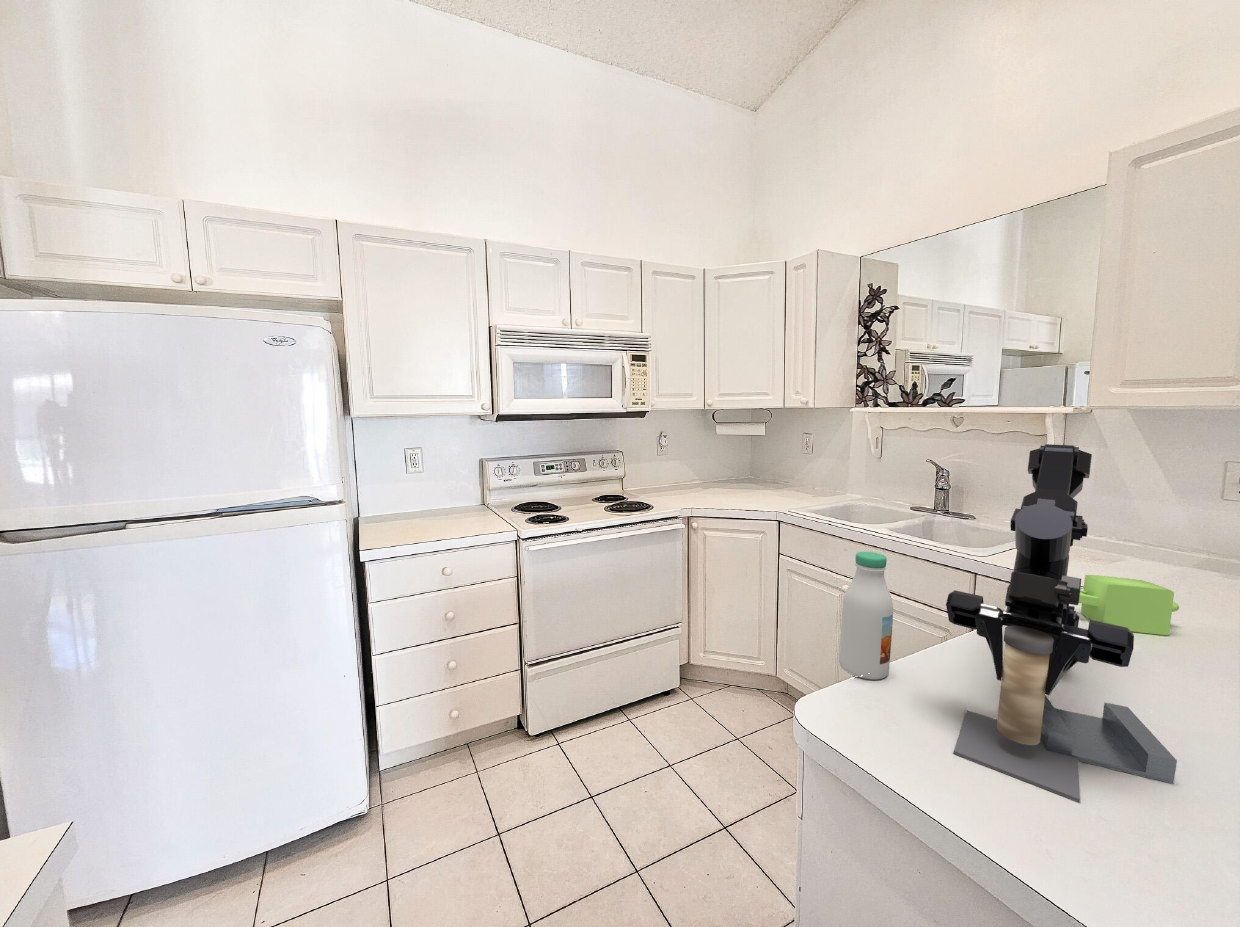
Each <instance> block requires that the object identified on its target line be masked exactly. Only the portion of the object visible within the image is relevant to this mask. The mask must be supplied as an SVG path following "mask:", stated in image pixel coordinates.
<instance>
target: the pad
mask: <svg viewBox="0 0 1240 927" xmlns="http://www.w3.org/2000/svg"><path fill="white" fill-rule="evenodd" d="M953 755H956V756H958V757H960V758H963V759H966V760H968V761H971V762H973V763H977V764H978V765H982V766H984V767H986V768H989V769H992V770H994V771H998V772H1000V773H1002V774H1005V775H1008V776H1010V777H1012V778H1015V779H1018V780H1020V781H1022V782H1025V783H1028V784H1030V785H1033V786H1036V787H1039V788H1041V789H1042V790H1043V789H1044V790H1046V791H1049V792H1051V793H1054V794H1057V795H1059V796H1062V797H1064V798H1067V799H1070V800H1072V801H1074V802H1077V803H1081V794H1080V793H1081V791H1080V775H1079V774H1080V772H1079V761H1078V758H1076V757H1072V756H1068V755H1063V754H1059V753H1055V752H1051V751H1047V750H1046V748H1045V747H1044V745H1043V743H1042V741H1041V740H1040V743H1039V744H1037V745H1025V744H1021V743H1018V742H1015V741H1012V740H1010V739H1008V738H1006V737H1005V736H1003V735H1002V734H1001V733H1000V732H999V731H998V730H997V719H995V718H993V717H990V716H987V715H983V714H981V713H977V712H976V711H975V712H974V711H971V710H969V709H967V710H966V712H965V715H964V718H963V721H962V725H961V727H960V730H959V734H958V737H957V740H956V743H955V746H954V748H953Z"/></svg>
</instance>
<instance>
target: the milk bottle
mask: <svg viewBox="0 0 1240 927" xmlns="http://www.w3.org/2000/svg"><path fill="white" fill-rule="evenodd" d="M887 561H888V560H887V557H886V556H885V555H884V554H881V553H878V552H873V551H858V552H857V553H856V554H855V564H854V566H855V567H856V568H855V573H854V576H853V578H852V580H851V581H850V583H849V584H848V587H847V589H846V590H845V593H844V596H843V599H842V600H843V601H842V608H841V609H842V610H841V624H840V636H839V651H838V663H839V666H840V667H841V670H844V672H847V673H848V674H850V675H852V676H854V677H857V678H861V679H865V680H872V681H873V680H882V679H885V678H886V677H887V676H888V675H889V671H890V664H891V663H890V662H891V649H892V640H893V638H892V635H893V621H894V606H893V605H894V603H893V598H892V596H891V595H892V594H891V593H890V590H889V588H888V585H887V582H886V579H885V571H886V570H887V568H886V567H887ZM868 673H870V674H868ZM861 675H863V676H862V677H859V676H861Z"/></svg>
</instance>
